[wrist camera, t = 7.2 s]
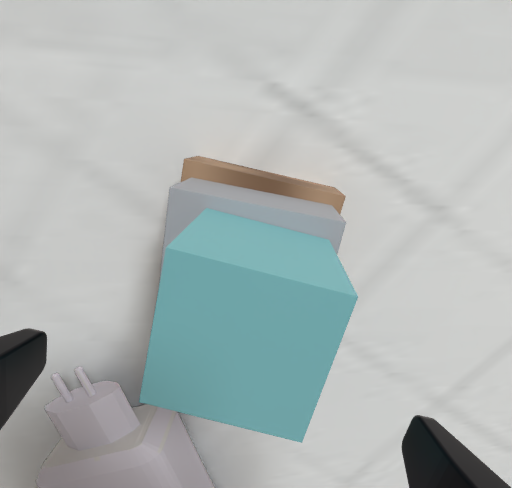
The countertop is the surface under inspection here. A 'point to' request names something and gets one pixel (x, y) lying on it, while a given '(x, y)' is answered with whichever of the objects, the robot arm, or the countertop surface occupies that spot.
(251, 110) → the countertop surface
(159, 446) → the charger
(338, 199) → the tower base
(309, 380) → the teal cube
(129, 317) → the countertop surface
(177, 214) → the tower top
